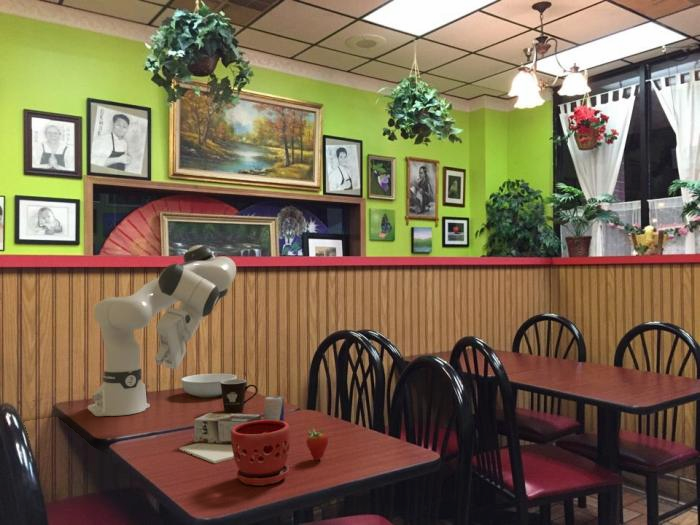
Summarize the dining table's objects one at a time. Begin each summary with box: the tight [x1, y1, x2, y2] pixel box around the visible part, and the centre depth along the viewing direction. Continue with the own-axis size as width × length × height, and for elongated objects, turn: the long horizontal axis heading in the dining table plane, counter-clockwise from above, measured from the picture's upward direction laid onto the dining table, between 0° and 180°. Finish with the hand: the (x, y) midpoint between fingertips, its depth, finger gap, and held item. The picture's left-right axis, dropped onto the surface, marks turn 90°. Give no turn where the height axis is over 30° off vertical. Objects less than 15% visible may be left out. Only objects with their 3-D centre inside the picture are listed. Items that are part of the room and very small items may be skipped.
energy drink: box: [263, 395, 285, 433], centre depth 166 cm, size 5×5×12 cm
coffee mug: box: [221, 378, 258, 414], centre depth 202 cm, size 12×9×10 cm
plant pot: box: [231, 419, 291, 487], centre depth 135 cm, size 13×13×12 cm
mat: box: [178, 442, 239, 464], centre depth 158 cm, size 17×14×1 cm
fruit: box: [305, 427, 329, 461], centre depth 149 cm, size 5×5×8 cm
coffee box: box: [193, 412, 262, 444], centre depth 165 cm, size 9×6×16 cm
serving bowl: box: [180, 373, 237, 398], centre depth 231 cm, size 21×21×7 cm
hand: (158, 361), depth 175 cm, fingers closed
